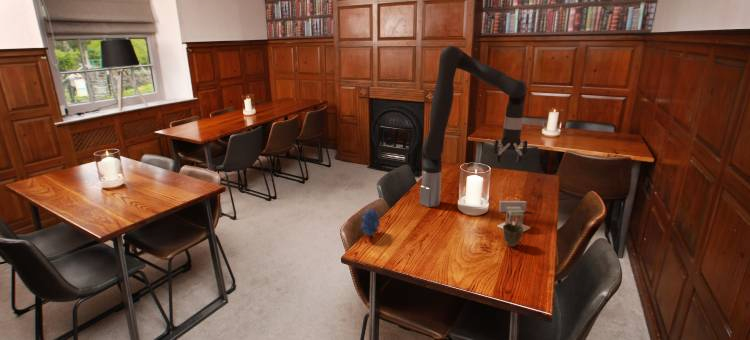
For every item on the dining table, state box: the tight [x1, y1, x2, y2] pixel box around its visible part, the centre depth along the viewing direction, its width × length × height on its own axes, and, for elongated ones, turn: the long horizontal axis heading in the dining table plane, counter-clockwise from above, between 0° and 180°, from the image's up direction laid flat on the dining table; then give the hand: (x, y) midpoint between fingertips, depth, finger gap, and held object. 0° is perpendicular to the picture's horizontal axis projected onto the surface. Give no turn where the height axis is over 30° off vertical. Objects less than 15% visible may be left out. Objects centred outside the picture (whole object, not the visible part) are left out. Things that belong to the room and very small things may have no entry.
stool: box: [504, 207, 525, 227], centre depth 172 cm, size 10×6×10 cm
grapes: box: [360, 208, 381, 237], centre depth 164 cm, size 12×7×12 cm, turn 145°
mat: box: [496, 220, 531, 233], centre depth 173 cm, size 10×10×1 cm
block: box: [498, 200, 527, 213], centre depth 188 cm, size 2×12×5 cm, turn 89°
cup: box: [502, 223, 524, 248], centre depth 156 cm, size 8×7×8 cm
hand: (508, 162), depth 179 cm, fingers open, 8 cm apart
